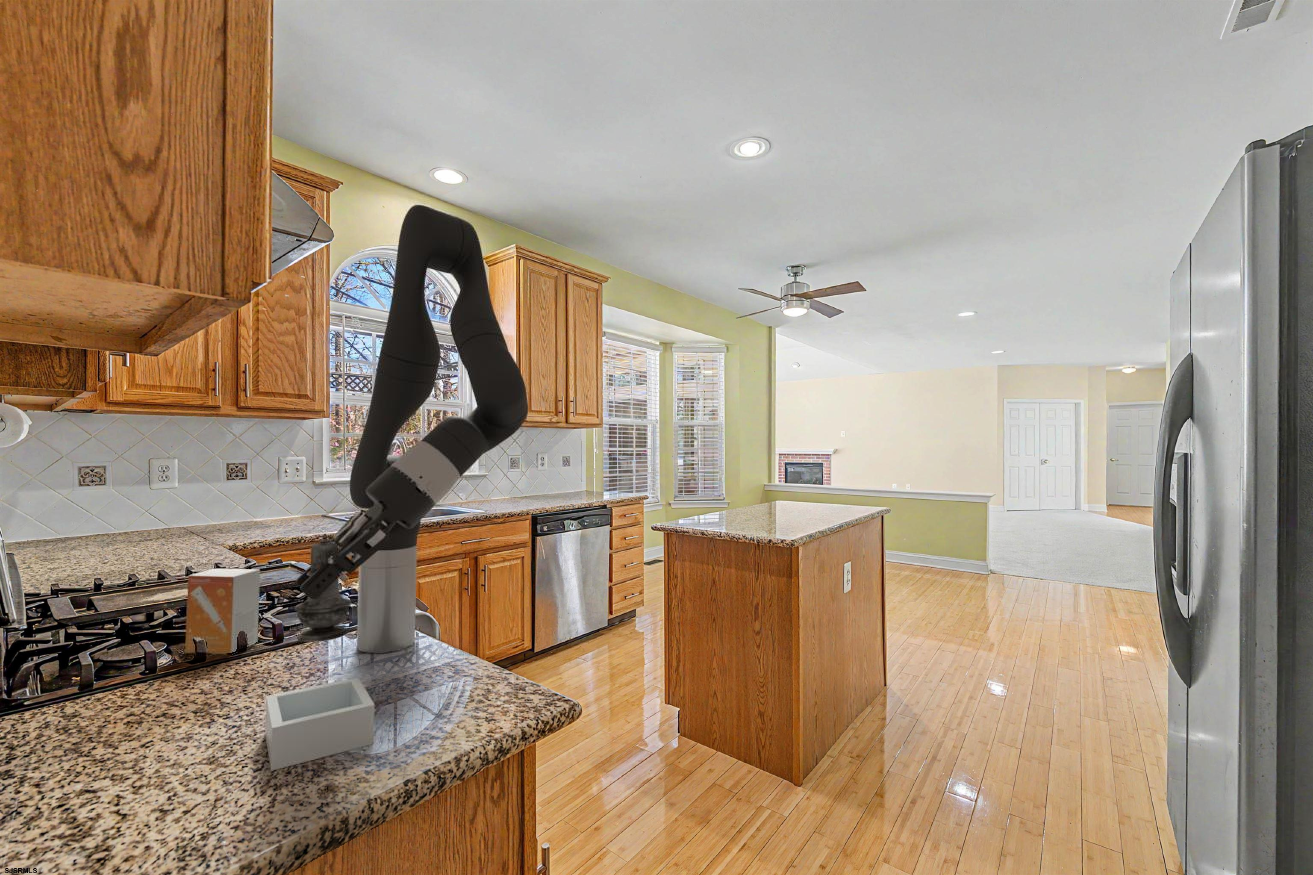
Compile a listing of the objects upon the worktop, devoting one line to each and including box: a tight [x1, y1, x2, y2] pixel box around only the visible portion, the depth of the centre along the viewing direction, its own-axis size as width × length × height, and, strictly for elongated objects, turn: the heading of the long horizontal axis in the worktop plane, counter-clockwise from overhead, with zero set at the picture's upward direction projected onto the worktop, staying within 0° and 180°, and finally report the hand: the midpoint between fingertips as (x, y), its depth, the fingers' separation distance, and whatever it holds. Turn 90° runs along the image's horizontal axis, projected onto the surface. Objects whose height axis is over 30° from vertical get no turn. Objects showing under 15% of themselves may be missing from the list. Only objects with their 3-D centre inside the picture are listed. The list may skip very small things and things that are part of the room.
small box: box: [184, 568, 261, 655], centre depth 100 cm, size 8×6×13 cm
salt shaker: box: [294, 533, 352, 643], centre depth 70 cm, size 6×6×12 cm
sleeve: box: [264, 677, 375, 772], centre depth 69 cm, size 10×10×4 cm
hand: (304, 590), depth 68 cm, fingers closed on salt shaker, 3 cm apart
